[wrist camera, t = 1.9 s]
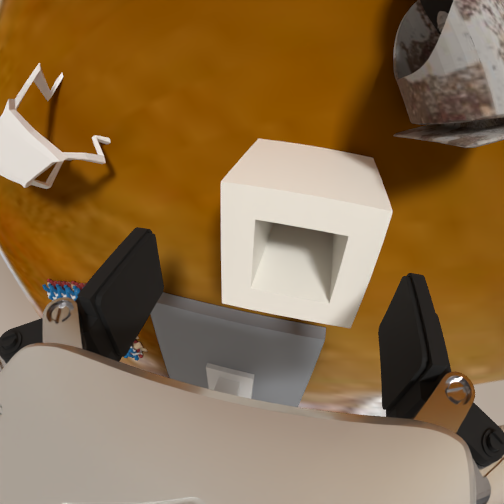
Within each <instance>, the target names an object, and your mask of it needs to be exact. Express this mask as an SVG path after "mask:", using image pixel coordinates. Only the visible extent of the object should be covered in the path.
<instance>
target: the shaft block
mask: <svg viewBox="0 0 504 504" xmlns="http://www.w3.org/2000/svg"><path fill="white" fill-rule="evenodd" d="M150 314H151V318H152V321H153V325H154V329H155V332H156V336H157V339H158V342H159V346H160V349H161V352H162V356H163V359H164V362H165V365H166V368H167V371H168V374H169V377H170V379H173V380H177V381H180V382H184V383H187V384H191V385H195V386H199V387H202V388H206V389H210V390H214V391H218V392H222V393H227V394H231V395H235V396H240V397H245V398H249V399H254V400H259V401H264V402H270V403H275V404H281V405H287V406H293V407H298V405H299V403H300V401H301V398H302V396H303V394H304V391H305V389H306V386H307V384H308V382H309V379H310V377H311V374H312V372H313V369H314V367H315V364H316V362H317V359H318V357H319V354H320V351H321V349H322V346H323V343H324V341H325V333H326V328H325V327H320V326H314V325H309V324H303V323H298V322H293V321H288V320H283V319H278V318H273V317H268V316H263V315H258V314H253V313H249V312H244V311H239V310H235V309H230V308H226V307H221V306H217V305H213V304H208V303H204V302H200V301H196V300H192V299H188V298H183V297H179V296H175V295H171V294H168V293H164V292H163V293H162V295H161V297H160V298H159V300H158V302H157V303H156V305H155V307H154V308H153V310H152V312H151V313H150Z"/></svg>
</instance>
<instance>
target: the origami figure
mask: <svg viewBox="0 0 504 504" xmlns="http://www.w3.org/2000/svg"><path fill="white" fill-rule="evenodd" d="M62 78H63V74H62V73H61V74H60V76H59V77H58V78H57V79H56V81H55V83H54V85H53V87H52V88H51V90H49V87H48V84H47V82H46V79H45V76H44V74H43V71H42V68H41V65H40V63H39V64H38V65H37V67H36V68H35V70H34V71H33V72H32V74H31V75H30V77H29V78H28V80H27V81H26V83H25V84H24V86H23V87H22V89H21V90H20V92H19V94H18V95H17V97H16V98H15V99H8V102H7V104H6V107H5V109H4V112H3V114H2V115H1V117H0V175H1V176H3V177H5V178H7V179H10V180H12V181H14V182H17V183H19V184H21V185H22V186H23V187H24V188H26V187H28V186H30V185H34V186H37V187H41V188H44V189H48V188H50V187H51V186H52V184H53V182H54V180H55V177H56V175H57V173H58V171H59V169H60V167H61V165H62V163H63V161H64V160H70V161H71V160H73V159H76V160H84V161H89V162H94V163H99V164H103V163H106V162H105V158H104V154H103V152H102V149H101V147H100V144H99V142H101V143H105V144H109V143H111V142H110V139H109V138H107V137H102V136H96V135H95V136H93V137H92V140H93V143H94V146H95V149H96V151H97V154H98V155H96V154H89V153H73V152H61V151H60V150H59V149H58V148H56V147H55V146H54V145H53V144H52V143H51V142H49V141H48V140H47V139H46V138H44V137H43V136H42V135H41V134H39V133H38V132H37V131H36V130H35V129H34V128H33V127H32V126H31V125H30V124H29V123H28V122H27V121H26V120H25V119H24V118H23V117H22V116H21V115H20V114H19V113H18V112H17V111H16V110H17V108H18V107H19V105H20V103H21V101H22V99H23V97H24V95H25V93H26V92H27V90H28V88H29V86H30V85H31V83H32V81H34V82H35V84H36V85H37V87H38V88H39V89H40V91H41V92H42V94H43V95H44V97H45V98H46V100H47V101H48V100H49V99H50V98H51V97H52V95H53V93H54V92H55V90H56V88H57V87H58V85H59V83H60V82H61V80H62ZM56 162H57V163H56ZM55 163H56V165H55V167H54V169H53V170H52V172H51V174H50V175H49V177H48V179H47V181H46V183H45V182H42V181H38V180H36V179H35V178H37V177H38V176H39V175H40V174H42V173H43V172H44V171H45V170H47V169H48V168H49V167H51V166H52V165H53V164H55Z"/></svg>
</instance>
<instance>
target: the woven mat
mask: <svg viewBox="0 0 504 504" xmlns="http://www.w3.org/2000/svg"><path fill="white" fill-rule="evenodd" d="M47 282H48V285H47V286H48V288H47V287H46V285H42V286H43V289H44V290H46V291H47V294H48V295H49V296H48V298H49V299H51V300H52V301H53V300H55V299H58V298H62V297H69V298H71V299H73V300H74V301H75V300H76V299H77V298H78V296H77V295H78V293H79V292H80V291H81V290H82V289H83V287H84V286H85V285H86V284H87V283H86V284H84V283H77V282H75V281H72V282H71V283H69V282H65V281H63V282H61V281H59V282H57V281H54V282H53V281H52V280H50V279H47ZM48 292H49V293H48ZM136 339H139V337H138V336H137V337H136ZM141 351H145V352H148V351H147V350H146V349H144V348H142V345H141V343H140V342H138V341H136V340H135V341H134V343H133V344H132V346H131V348H130V350H129V351H128V353H127V355H126V356H124V358H127V357H128V356H129V357H132V358H135V360H139V358H138V355H139V357H140V358H142V357H143V355H142V352H141ZM132 354H133V355H132Z"/></svg>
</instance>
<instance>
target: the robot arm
mask: <svg viewBox="0 0 504 504" xmlns="http://www.w3.org/2000/svg"><path fill="white" fill-rule="evenodd" d="M163 289H164V285H163V279H162V273H161V268H160V262H159V255H158V249H157V243H156V237H155V234H152V231H151V230H150V229H145V228H138V227H137V228H135V229H134V230H133V231H132V232H131V233H130V234H129V235H128V237H127V238H126V239H125V240H124V241H123V242H122V243H121V244H120V245H119V246H118V248H117V249H116V250H115V251H114V252H113V253H112V254H111V255H110V257H109V258H108V259H107V260H106V261H105V262H104V264H103V265H102V266H101V267H100V268H99V269H98V271H97V272H96V273H95V274H94V275H93V276H92V278H91V279H90V280H89V281H88V282H87V284H86V285H85V286H84V287H83V289H82V290H81V291H80V292H79V293H78V295H77V296H78V298H77V299H76V300H75V301H74V300H73V299H71V298H69V297H62V298H58V299H55V300H53V301H52V302H50V303H49V304H48V305H47V306H46V308H45V310H44V312H43V318H41V319H39V320H36V321H33V322H30V323H27V324H24V325H21V326H19V327H16V328H13V329H10V330H8V331H6V332H5V333H4V334H3V335H2V336H1V337H0V504H504V432H503V431H502V430H501V428H500V427H499V426H498V425H496V424H495V423H494V422H493V421H492V420H491V419H490V418H489V417H488V416H487V415H486V414H485V413H484V412H483V411H482V410H481V409H480V408H479V407H478V406H477V405H475V403H473V401H474V398H475V390H474V386H473V384H472V382H471V381H470V379H469V378H468V377H467V376H465V375H464V374H462V373H459V372H451V368H450V363H449V359H448V354H447V350H446V346H445V341H444V337H443V333H442V329H441V326H440V322H439V318H438V316H437V314H436V313H435V310H434V307H433V303H432V300H431V296H430V293H429V290H428V287H427V283H426V280H425V277H424V276H423V275H419V274H413V273H409V274H408V275H407V276H403V277H402V279H401V281H400V284H399V286H398V288H397V290H396V293H395V295H394V297H393V299H392V301H391V303H390V305H389V308H388V310H387V312H386V314H385V316H384V318H383V320H382V322H381V324H380V326H379V332H378V335H379V347H380V362H381V381H382V407H383V409H386V417H380V416H367V415H357V414H347V413H338V412H329V411H321V410H313V409H306V408H299V407H293V406H287V405H281V404H275V403H270V402H264V401H259V400H254V399H249V398H245V397H240V396H235V395H231V394H227V393H222V392H218V391H214V390H210V389H206V388H202V387H199V386H195V385H191V384H187V383H184V382H180V381H177V380H173V379H170V378H167V377H163V376H160V375H157V374H154V373H151V372H147V371H144V370H141V369H138V368H135V367H133V366H130V365H127V364H124V363H121V362H119V361H120V359H121V358H122V356H123V357H124V356H126V355H127V353H128V351H129V350H130V348H131V346H132V344H133V343H134V341H135V339H136V337H137V336H138V334H139V332H140V330H141V329H142V327H143V325H144V324H145V322H146V320H147V319H148V317H149V315H150V313H151V312H152V310H153V308H154V307H155V305H156V303H157V302H158V300H159V298H160V297H161V295H162V293H163Z"/></svg>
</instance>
